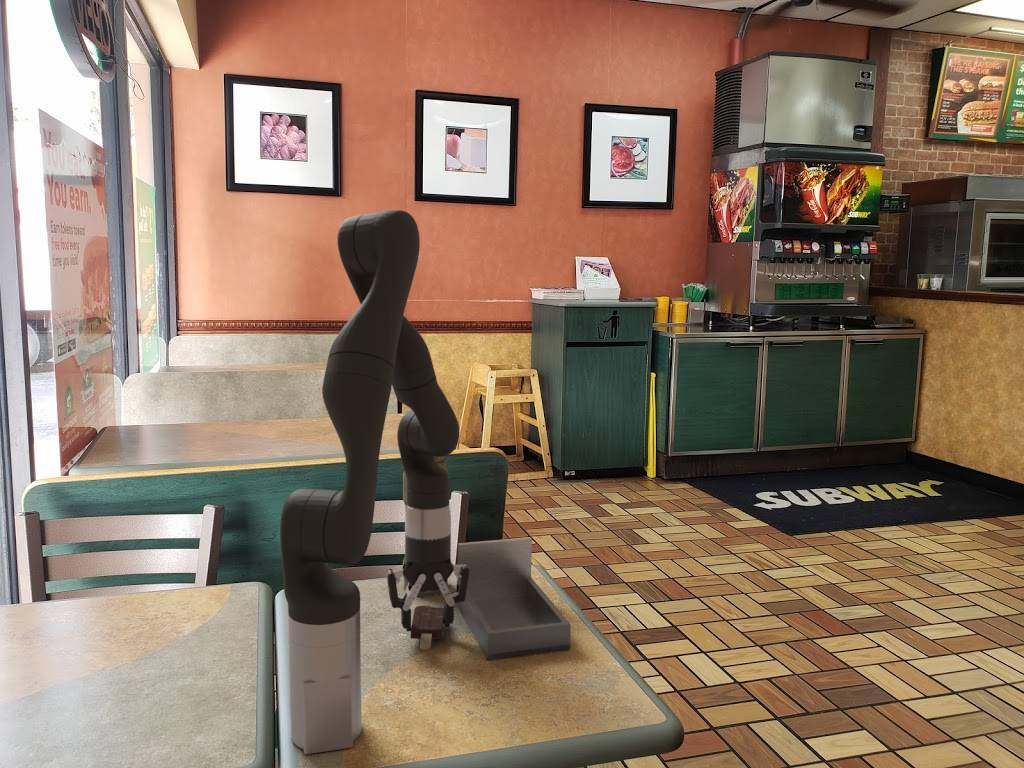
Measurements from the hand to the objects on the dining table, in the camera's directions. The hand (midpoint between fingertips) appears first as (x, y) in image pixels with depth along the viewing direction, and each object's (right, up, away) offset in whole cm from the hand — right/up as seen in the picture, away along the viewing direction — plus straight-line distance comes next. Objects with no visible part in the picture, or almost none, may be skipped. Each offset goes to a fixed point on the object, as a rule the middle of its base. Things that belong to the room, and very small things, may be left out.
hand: (427, 627), depth 135 cm
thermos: (-3, +1, +23) cm, 23 cm away
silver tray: (+14, -2, +6) cm, 15 cm away
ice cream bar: (0, -1, 0) cm, 1 cm away
